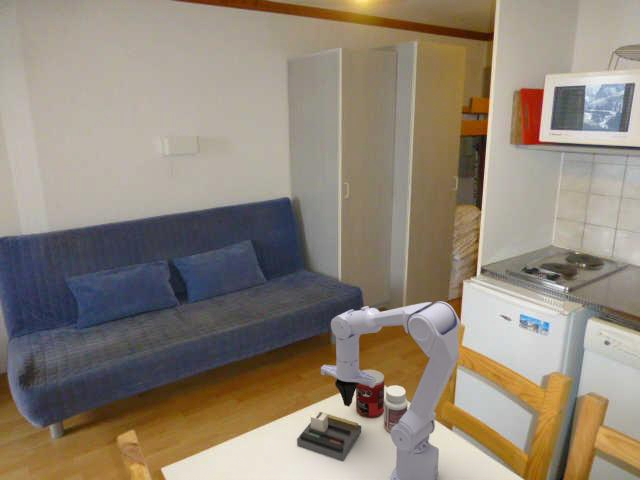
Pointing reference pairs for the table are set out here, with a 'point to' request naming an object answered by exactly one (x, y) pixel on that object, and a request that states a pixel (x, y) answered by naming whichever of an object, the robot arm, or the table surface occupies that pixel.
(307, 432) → the breaker panel
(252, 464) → the table surface
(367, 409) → the canned food
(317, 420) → the block
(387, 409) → the pill bottle
